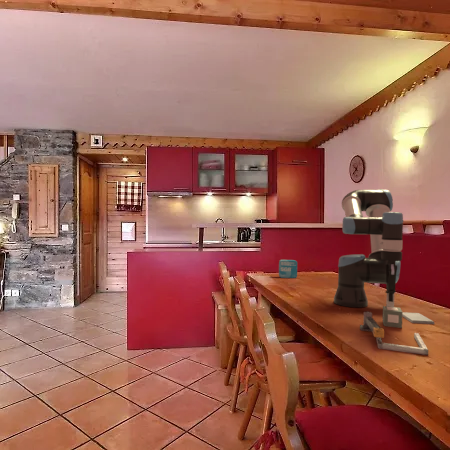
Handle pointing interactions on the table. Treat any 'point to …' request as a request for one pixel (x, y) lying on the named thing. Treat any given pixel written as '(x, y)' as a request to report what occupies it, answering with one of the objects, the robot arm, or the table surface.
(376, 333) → the cable arm
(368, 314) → the post
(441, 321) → the table surface
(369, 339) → the table surface
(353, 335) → the table surface
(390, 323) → the panel
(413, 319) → the hard drive
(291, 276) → the data package
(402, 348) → the frame
